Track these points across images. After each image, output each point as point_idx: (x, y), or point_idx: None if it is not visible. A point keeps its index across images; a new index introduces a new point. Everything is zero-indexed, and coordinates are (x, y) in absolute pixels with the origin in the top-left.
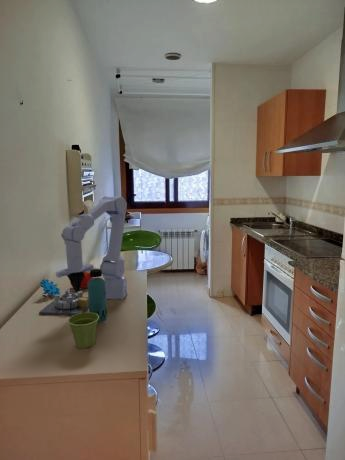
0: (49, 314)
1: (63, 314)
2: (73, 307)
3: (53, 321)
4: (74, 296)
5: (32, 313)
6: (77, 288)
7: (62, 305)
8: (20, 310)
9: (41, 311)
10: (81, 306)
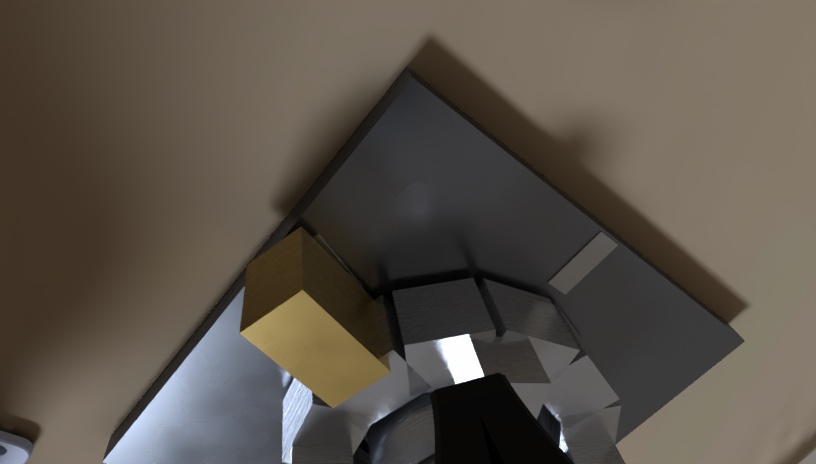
0: (671, 278)
1: (574, 203)
2: (443, 286)
3: (728, 85)
4: (410, 448)
5: (753, 365)
6: (510, 429)
7: (569, 333)
8: (779, 448)
9: (724, 342)
10: (346, 275)
